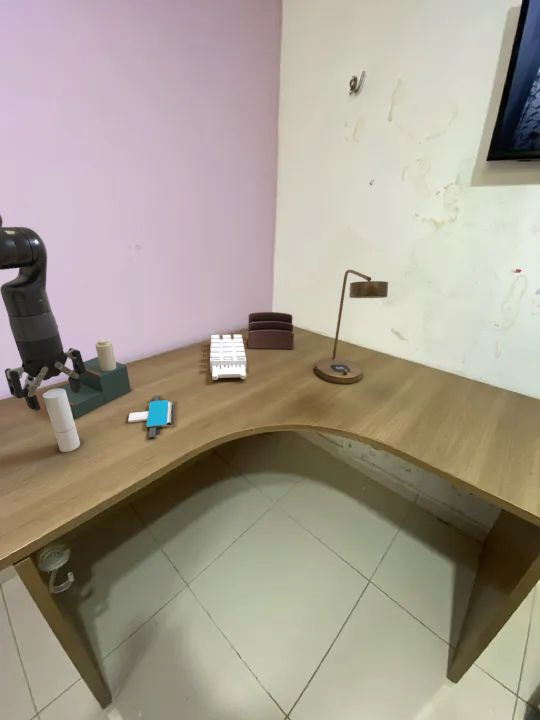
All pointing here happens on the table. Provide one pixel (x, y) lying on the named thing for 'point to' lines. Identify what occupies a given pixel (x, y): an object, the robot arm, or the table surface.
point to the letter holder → (270, 330)
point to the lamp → (334, 366)
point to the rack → (97, 387)
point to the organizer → (227, 357)
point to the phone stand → (156, 416)
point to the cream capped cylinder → (105, 355)
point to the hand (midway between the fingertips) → (56, 400)
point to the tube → (61, 419)
